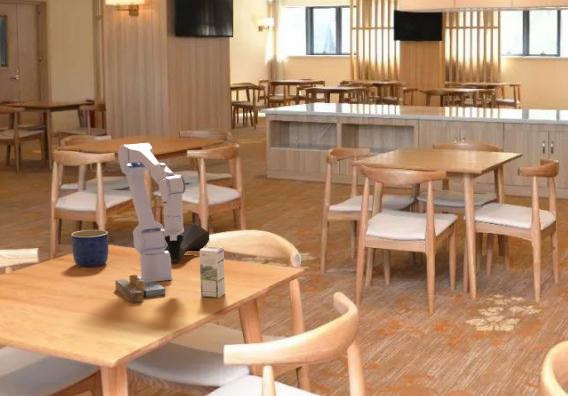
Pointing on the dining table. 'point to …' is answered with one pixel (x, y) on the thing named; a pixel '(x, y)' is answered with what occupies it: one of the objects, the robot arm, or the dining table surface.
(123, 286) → the bench dog strip
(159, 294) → the steel plate
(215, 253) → the syrup box
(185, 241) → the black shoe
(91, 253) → the planter
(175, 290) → the dining table surface
